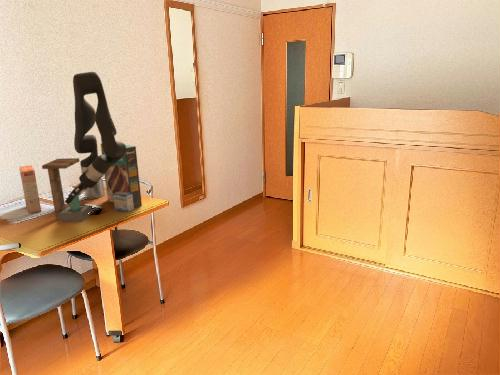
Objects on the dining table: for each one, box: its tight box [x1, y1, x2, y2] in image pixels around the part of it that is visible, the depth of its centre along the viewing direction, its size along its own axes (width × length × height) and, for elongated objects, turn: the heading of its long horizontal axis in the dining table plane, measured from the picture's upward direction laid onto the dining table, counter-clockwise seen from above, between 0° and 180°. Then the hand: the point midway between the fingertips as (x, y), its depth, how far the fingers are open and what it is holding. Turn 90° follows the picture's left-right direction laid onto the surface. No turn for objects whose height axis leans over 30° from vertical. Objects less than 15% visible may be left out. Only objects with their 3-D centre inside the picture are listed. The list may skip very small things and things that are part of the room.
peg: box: [69, 194, 81, 211], centre depth 180 cm, size 4×4×11 cm
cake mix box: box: [100, 143, 143, 209], centre depth 197 cm, size 22×6×30 cm, turn 49°
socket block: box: [59, 205, 93, 223], centre depth 181 cm, size 10×10×4 cm
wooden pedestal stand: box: [41, 157, 80, 221], centre depth 178 cm, size 14×10×26 cm
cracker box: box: [19, 165, 42, 214], centre depth 192 cm, size 14×6×21 cm, turn 33°
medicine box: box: [113, 192, 135, 213], centre depth 189 cm, size 8×4×9 cm, turn 70°
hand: (70, 199), depth 179 cm, fingers open, 8 cm apart
